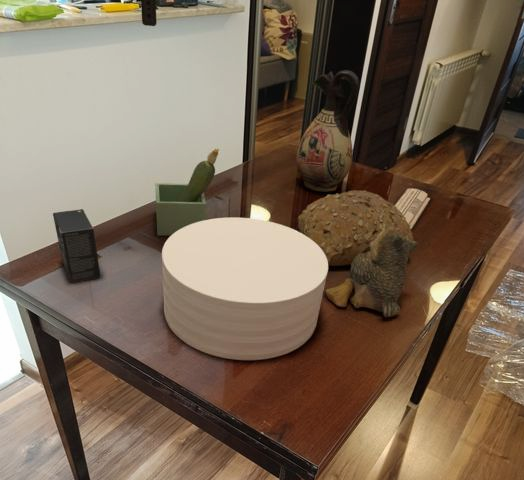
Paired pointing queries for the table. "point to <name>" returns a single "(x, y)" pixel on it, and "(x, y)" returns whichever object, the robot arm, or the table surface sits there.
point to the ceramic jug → (328, 136)
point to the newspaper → (412, 204)
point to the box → (77, 245)
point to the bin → (176, 208)
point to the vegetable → (200, 179)
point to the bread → (350, 223)
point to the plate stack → (242, 287)
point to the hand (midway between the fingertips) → (149, 21)
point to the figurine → (377, 275)
